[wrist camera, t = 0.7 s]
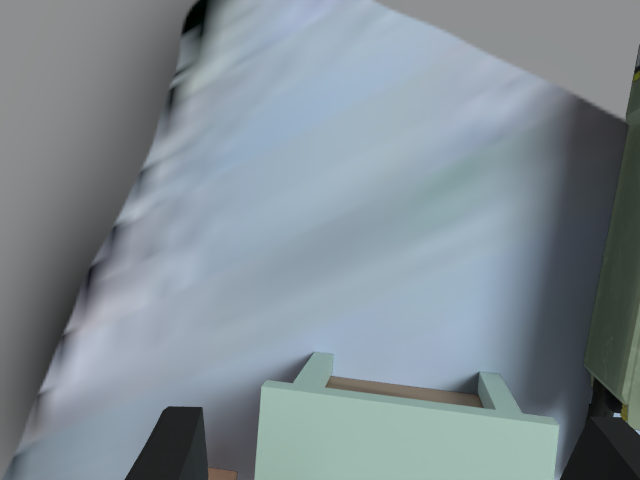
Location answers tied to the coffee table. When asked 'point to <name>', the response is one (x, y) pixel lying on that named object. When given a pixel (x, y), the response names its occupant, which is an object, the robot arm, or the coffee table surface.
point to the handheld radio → (620, 290)
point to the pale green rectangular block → (397, 434)
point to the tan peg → (221, 474)
